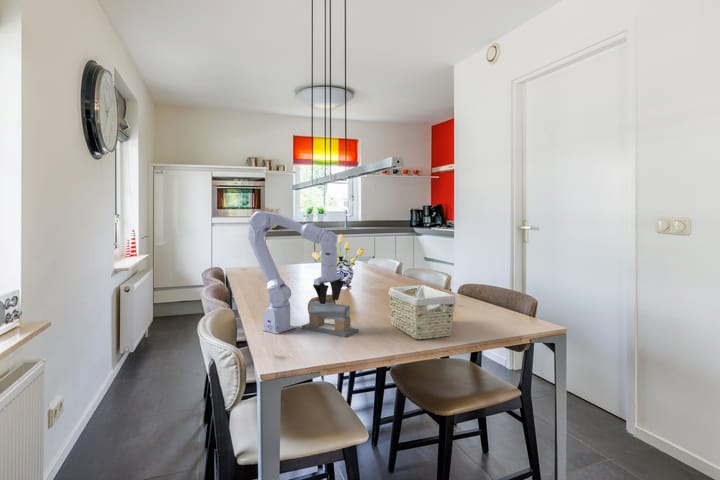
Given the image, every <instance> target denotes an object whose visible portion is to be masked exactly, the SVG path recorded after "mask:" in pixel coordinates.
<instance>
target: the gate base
mask: <svg viewBox="0 0 720 480" xmlns="http://www.w3.org/2000/svg"><path fill="white" fill-rule="evenodd" d="M308 319H309V320H308V323H305V324H302V325H301V329H304V330H309V331H314V332H318V333H322V334H328V335H332V336H338V337H342V338H347V337H350V336H351V335H354V334H357V333H358V332H359V328H356V327H351V318H350V319H348V320H345V321H343V320H337V319H334V323H329V322H325V317H321V316H315V315H309V314H308Z"/></svg>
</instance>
